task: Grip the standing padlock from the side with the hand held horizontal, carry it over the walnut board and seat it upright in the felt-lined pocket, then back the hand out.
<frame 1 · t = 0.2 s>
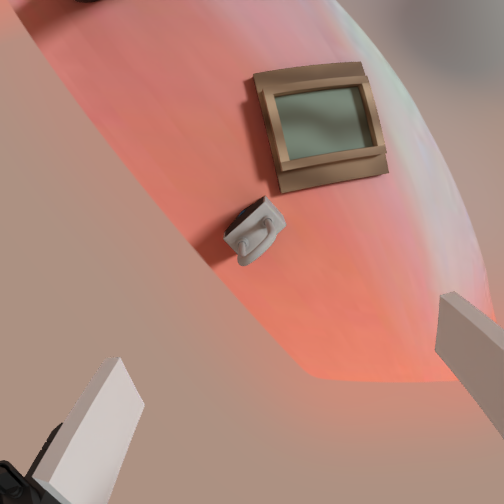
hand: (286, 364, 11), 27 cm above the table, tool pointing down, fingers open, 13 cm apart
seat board: (322, 123, 34), on the table
padlock: (253, 223, 37), on the table
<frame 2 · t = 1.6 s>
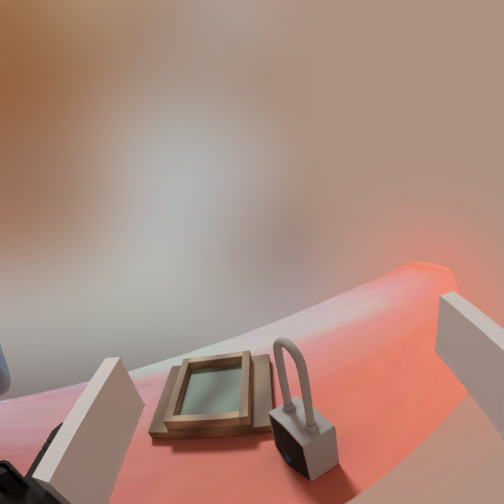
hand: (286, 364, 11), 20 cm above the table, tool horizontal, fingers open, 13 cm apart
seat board: (215, 398, 37), on the table
padlock: (305, 454, 25), on the table
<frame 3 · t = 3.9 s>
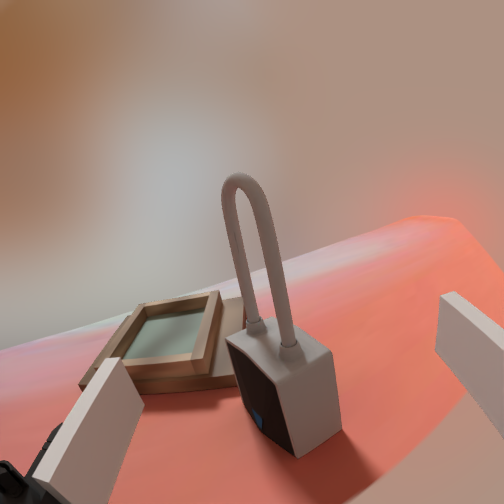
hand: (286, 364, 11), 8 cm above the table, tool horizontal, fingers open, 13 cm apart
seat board: (171, 348, 29), on the table
padlock: (288, 417, 18), on the table
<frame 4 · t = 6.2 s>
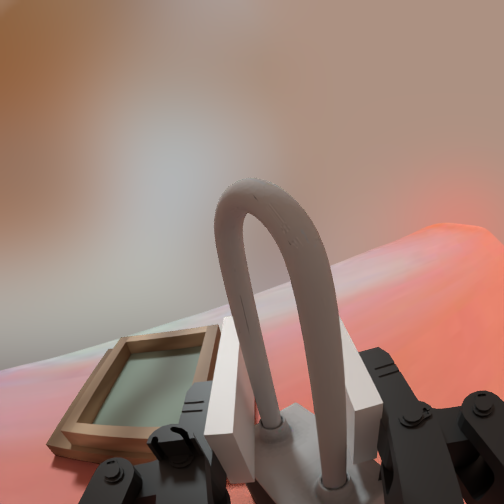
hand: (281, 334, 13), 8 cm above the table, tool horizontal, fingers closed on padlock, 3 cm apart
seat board: (158, 400, 21), on the table
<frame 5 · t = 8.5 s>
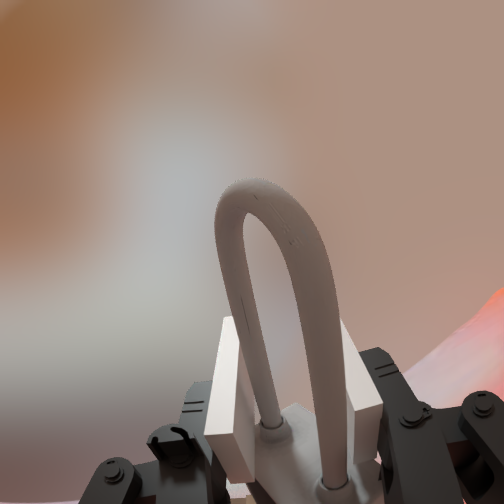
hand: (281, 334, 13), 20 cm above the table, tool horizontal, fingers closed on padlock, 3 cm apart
when the fingers open (11 cm above the table, at t = 10.9 s): padlock drops 1 cm, resting on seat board.
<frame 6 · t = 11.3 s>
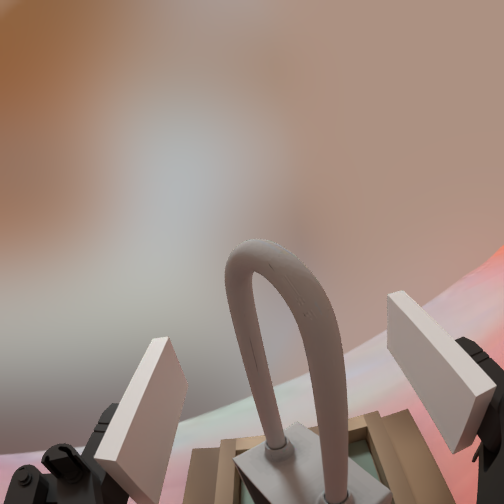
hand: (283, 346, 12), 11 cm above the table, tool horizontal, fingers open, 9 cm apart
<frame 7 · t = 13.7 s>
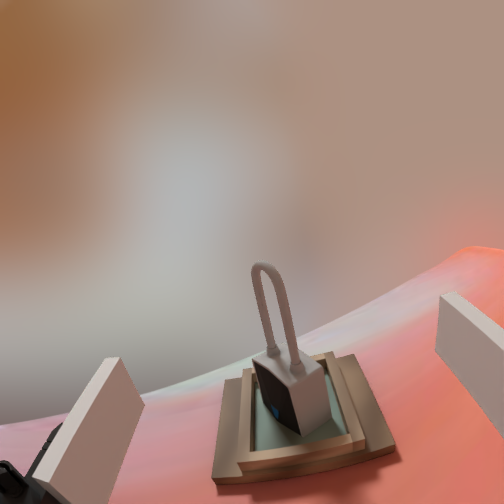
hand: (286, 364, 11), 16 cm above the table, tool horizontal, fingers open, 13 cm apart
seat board: (297, 418, 26), on the table
padlock: (295, 411, 26), point 1 cm above the table, touching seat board
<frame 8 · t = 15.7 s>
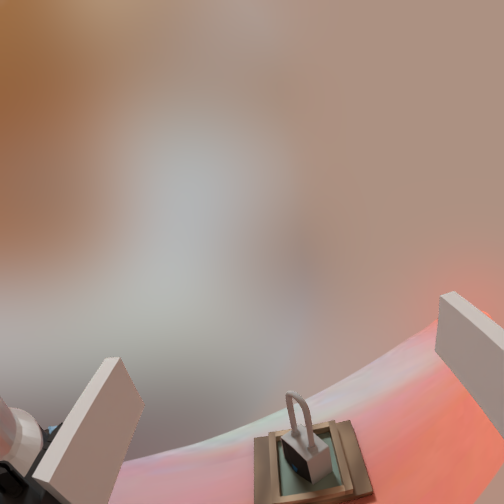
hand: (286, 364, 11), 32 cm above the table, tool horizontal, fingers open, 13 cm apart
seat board: (308, 469, 34), on the table
padlock: (307, 465, 33), point 1 cm above the table, touching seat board
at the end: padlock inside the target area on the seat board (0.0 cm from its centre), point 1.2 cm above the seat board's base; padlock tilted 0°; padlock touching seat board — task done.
